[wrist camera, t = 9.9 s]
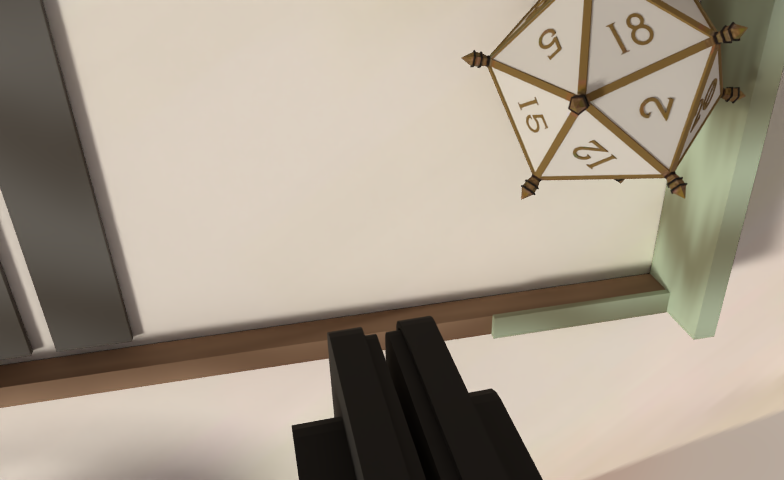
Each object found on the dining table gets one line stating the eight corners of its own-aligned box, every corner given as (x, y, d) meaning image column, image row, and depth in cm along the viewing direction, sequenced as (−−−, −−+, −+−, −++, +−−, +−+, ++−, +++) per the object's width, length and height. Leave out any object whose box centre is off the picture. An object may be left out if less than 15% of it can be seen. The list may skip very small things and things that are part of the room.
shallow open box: (-363, -257, 17) (-509, -285, 14) (777, -262, 23) (873, -284, 19) (-59, 394, 28) (-99, 467, 25) (665, 288, 34) (714, 337, 30)
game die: (538, -19, 29) (775, -152, 20) (610, 164, 30) (858, 112, 22) (379, 45, 24) (597, -89, 16) (473, 256, 26) (717, 235, 17)
